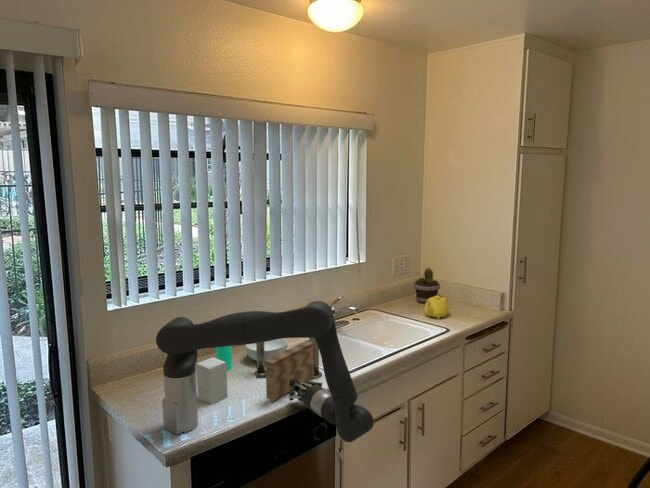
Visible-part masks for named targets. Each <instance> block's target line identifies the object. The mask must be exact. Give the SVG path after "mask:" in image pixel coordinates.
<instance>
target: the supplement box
mask: <svg viewBox="0 0 650 488" xmlns="http://www.w3.org/2000/svg"><path fill="white" fill-rule="evenodd" d="M195 368H196V387H197V399H199V400H201V401H203V402H205V403H206V404H208V405H213V404H215V403H217V402H219V401H222V400H224V399H227V398H228V396H229V395H228V379H227V378H228V377H227V376H228V375H227V374H228V373H227V371H226V362H224V361H222V360H219V359H217V358H216V357H210V358H207V359H205V360H202V361H199V362H196V365H195Z"/></svg>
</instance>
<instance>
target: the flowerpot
mask: <svg viewBox="0 0 650 488" xmlns="http://www.w3.org/2000/svg"><path fill="white" fill-rule="evenodd" d="M422 273H423V275H422V276H423V277H422V276H420V277H418V279H416V280H415V281H414V282H413V284H412V285H413V288H414V290H415V294H416V295H415V299H416V301H417V302H418V303H419V304H425V305H426V302H427V300H428V299H429V298H431V297H435V296H438V292H439V290H440V288H441V284H440V283H439V281H438V280H434V279H435V278H434V276H435V275H434V271H433V269H431V266H429V265H428V267H427V268H425V269H424V271H422Z"/></svg>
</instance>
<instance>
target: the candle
mask: <svg viewBox="0 0 650 488" xmlns="http://www.w3.org/2000/svg"><path fill="white" fill-rule="evenodd" d="M214 349H215V358H217V359H219V360H222V361H224V362H226V372H227V371H229V370H231V369H232V368H233V362H232V360H233V357H232V346H226V347H215V348H214Z"/></svg>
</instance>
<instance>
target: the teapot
mask: <svg viewBox="0 0 650 488" xmlns="http://www.w3.org/2000/svg"><path fill="white" fill-rule="evenodd" d="M449 308H450V307H449V304H448V300H447V297H446V296H443V297H442V296H441V297H440V295H437V296H435V297H431V298H429V299H428V300H427V302H426V304H425V305H424V310H423V311H424V314H425V316H427V318H431V317H433V318H435V319H436V320H441V318H445V317H446V316H447V315H448V313H449Z"/></svg>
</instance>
